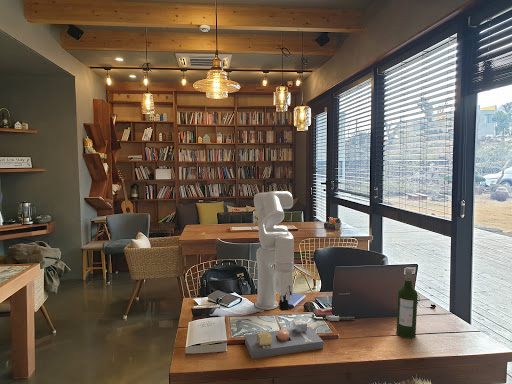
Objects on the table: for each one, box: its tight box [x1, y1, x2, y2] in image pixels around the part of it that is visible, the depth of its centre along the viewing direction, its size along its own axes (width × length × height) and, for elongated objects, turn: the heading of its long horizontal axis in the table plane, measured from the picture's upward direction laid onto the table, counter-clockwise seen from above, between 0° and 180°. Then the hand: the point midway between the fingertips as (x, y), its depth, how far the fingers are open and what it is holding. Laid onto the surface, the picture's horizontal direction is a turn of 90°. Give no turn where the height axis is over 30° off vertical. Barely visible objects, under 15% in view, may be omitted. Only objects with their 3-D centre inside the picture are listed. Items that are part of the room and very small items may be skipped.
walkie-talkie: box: [312, 306, 355, 322], centre depth 169 cm, size 9×4×20 cm
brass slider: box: [256, 330, 272, 346], centre depth 138 cm, size 4×5×4 cm
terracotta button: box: [277, 328, 289, 342], centre depth 143 cm, size 5×5×3 cm
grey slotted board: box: [243, 326, 324, 360], centre depth 143 cm, size 13×30×3 cm, turn 105°
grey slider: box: [292, 318, 308, 333], centre depth 149 cm, size 4×5×4 cm
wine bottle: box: [396, 266, 419, 339], centre depth 152 cm, size 8×8×30 cm
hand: (283, 309), depth 141 cm, fingers closed
